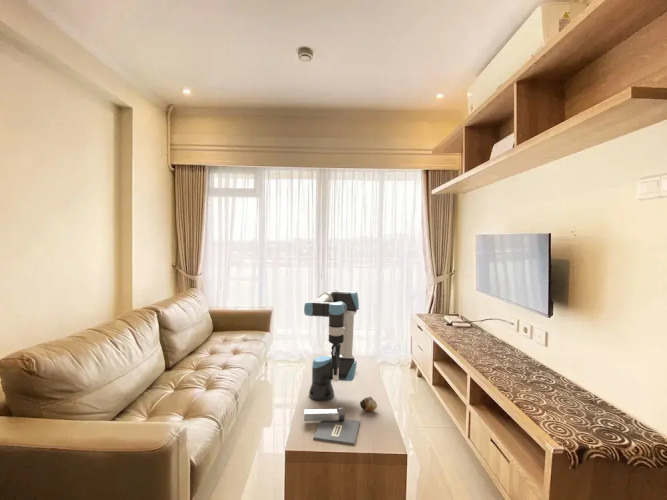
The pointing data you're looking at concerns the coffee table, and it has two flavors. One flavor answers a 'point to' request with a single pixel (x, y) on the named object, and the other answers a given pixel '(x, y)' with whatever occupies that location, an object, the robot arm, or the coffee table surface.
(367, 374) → the coffee table surface
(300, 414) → the coffee table surface
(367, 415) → the coffee table surface
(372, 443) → the coffee table surface
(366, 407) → the seashell
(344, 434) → the panel
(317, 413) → the swing bar
